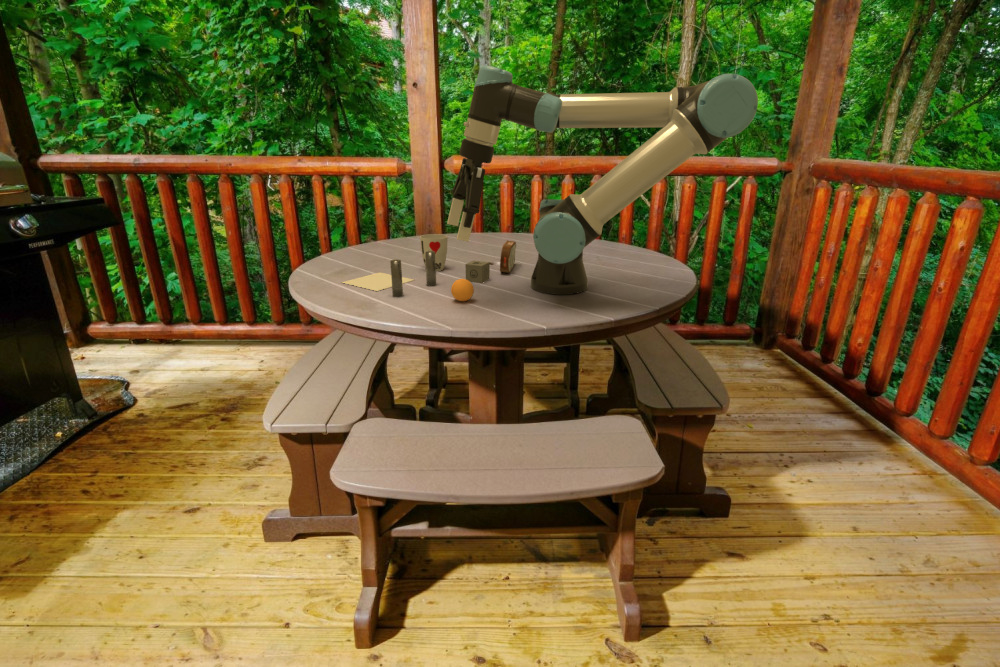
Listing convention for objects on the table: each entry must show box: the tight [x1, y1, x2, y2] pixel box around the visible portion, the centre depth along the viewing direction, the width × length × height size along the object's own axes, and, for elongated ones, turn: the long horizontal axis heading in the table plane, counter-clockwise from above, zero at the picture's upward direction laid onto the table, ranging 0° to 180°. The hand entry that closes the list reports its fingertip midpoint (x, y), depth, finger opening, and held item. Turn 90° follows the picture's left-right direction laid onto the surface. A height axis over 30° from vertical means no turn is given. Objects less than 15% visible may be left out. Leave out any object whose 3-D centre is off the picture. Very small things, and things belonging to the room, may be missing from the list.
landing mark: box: [341, 271, 415, 292], centre depth 146 cm, size 14×14×1 cm
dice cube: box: [465, 260, 491, 284], centre depth 147 cm, size 5×5×5 cm
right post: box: [425, 251, 437, 287], centre depth 142 cm, size 3×3×9 cm
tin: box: [499, 240, 517, 274], centre depth 158 cm, size 15×3×8 cm, turn 170°
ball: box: [450, 278, 475, 302], centre depth 129 cm, size 6×6×6 cm
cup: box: [419, 233, 448, 272], centre depth 158 cm, size 8×8×10 cm
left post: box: [389, 259, 404, 298], centre depth 132 cm, size 3×3×9 cm
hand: (457, 232), depth 127 cm, fingers open, 13 cm apart
